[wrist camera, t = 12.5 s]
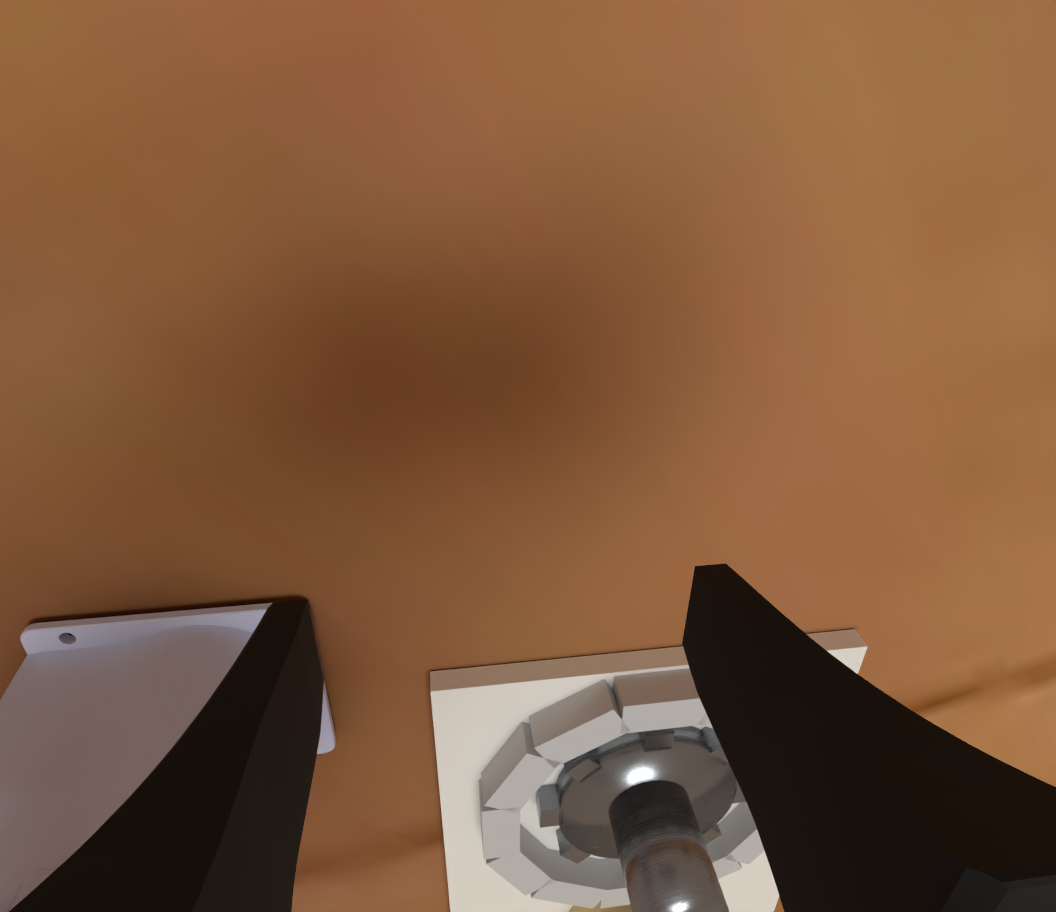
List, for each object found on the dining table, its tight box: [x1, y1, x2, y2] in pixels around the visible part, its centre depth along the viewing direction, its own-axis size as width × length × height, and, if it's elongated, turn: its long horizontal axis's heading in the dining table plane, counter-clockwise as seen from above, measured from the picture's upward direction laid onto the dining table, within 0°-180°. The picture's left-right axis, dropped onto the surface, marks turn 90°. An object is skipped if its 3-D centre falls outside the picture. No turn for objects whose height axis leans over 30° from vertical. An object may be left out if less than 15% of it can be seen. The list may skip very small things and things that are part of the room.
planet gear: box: [536, 726, 746, 912], centre depth 30 cm, size 10×10×6 cm
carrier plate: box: [430, 629, 868, 912], centre depth 34 cm, size 18×23×4 cm
